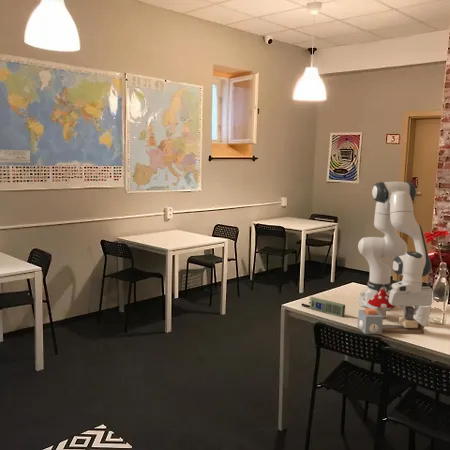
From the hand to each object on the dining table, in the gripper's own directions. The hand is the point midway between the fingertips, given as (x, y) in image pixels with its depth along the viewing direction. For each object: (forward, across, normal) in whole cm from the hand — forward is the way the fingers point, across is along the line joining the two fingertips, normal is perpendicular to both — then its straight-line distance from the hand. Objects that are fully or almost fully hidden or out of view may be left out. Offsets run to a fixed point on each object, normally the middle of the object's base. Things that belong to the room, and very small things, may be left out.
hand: (409, 314), depth 233 cm
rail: (+8, +4, 0) cm, 9 cm away
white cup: (+8, -12, -10) cm, 17 cm away
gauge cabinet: (+8, +19, 0) cm, 21 cm away
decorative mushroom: (+8, +5, -19) cm, 21 cm away
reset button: (+1, +19, 0) cm, 19 cm away
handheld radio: (+9, +34, -29) cm, 45 cm away
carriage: (+5, 0, 0) cm, 5 cm away
